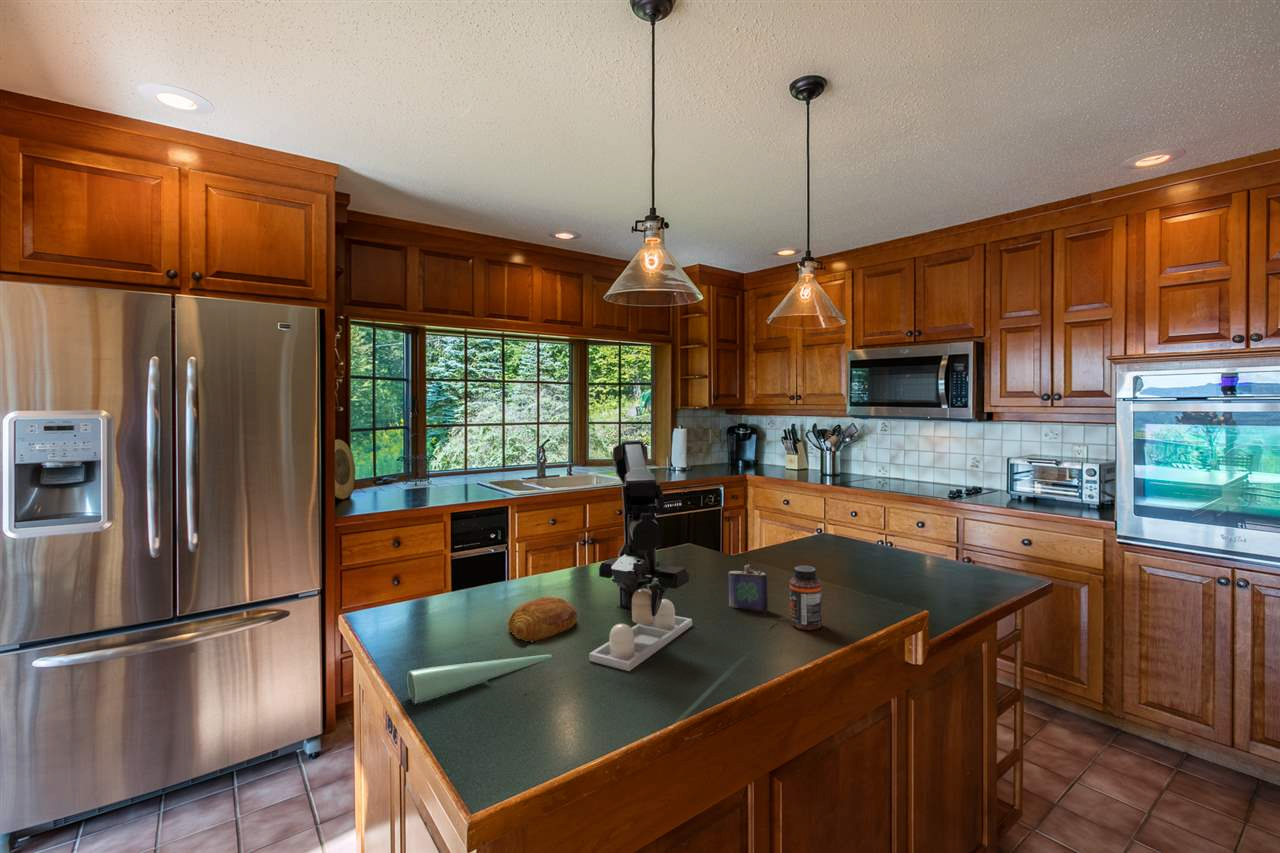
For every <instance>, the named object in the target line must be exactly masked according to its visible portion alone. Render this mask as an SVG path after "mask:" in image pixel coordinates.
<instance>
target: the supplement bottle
mask: <svg viewBox="0 0 1280 853" xmlns="http://www.w3.org/2000/svg"><path fill="white" fill-rule="evenodd" d="M816 576H817V570H816V568H815V567H813V566H810V565H798V566H794V576H793V577H792V578H791V579H790V580H789V611H790V612H789V616H790V620H789V621H790V625H791V626H793V627H794V628H796V629H798V630H802V631H815V630H818V629H820V628H821V627H822V624H823V623H822V622H823V620H822V619H823V618H822V616H823V614H822V613H823V610H822V608H823V607H822V603H823V602H822V582H821V580H820V579H819V578H817V577H816Z"/></svg>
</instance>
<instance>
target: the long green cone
mask: <svg viewBox="0 0 1280 853" xmlns="http://www.w3.org/2000/svg"><path fill="white" fill-rule="evenodd" d="M551 658H553V655H552V654H542V655H541V654H540V655H531V656H523V657H522V656H520V657H513V658H503V659H494V660H486V661H477V662H467V663H466V662H465V663H457V664H448V665H440V666H430V667H424V668H418V669H414V670H412V669H411V670H409V671H408V672H407V675H406V683H407V684H406V685H407V690H408V697H409V696H410V697H413V696H414V695H415V702H414V703H418V702H421V701H425V700H429V699H432V698H435V697H439V696H442V695H445V694H448V693H452V692H455V691H458V690H461V689H464V688H467V687H470V686H473V685H476V684H478V683H481V682H485V681H489V680H491V679H494V678H497V677H500V676H503V675H506V674H508V673H512V672H515V671H518V670H520V669H524V668H527V667H529V666H532V665H535V664H538V663H541V662H543V661H546V660H549V659H551ZM476 686H477V685H476ZM473 687H474V686H473ZM470 688H471V687H470ZM467 689H468V688H467ZM464 690H465V689H464ZM461 691H462V690H461ZM458 692H459V691H458ZM455 693H456V692H455ZM452 694H453V693H452ZM410 697H409V698H410Z"/></svg>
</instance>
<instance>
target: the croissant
mask: <svg viewBox="0 0 1280 853" xmlns="http://www.w3.org/2000/svg"><path fill="white" fill-rule="evenodd" d="M577 621H578V613H577V611H576V609H575V608H574V606H572V605H571V604H570V603H569V602H568V601H566V600H565V599H563V598H560V597H549V596H547V597H545V596H544V597H543V596H542V597H540V598H535V599H534V600H531V601H528V602H525V603H522V604H521V605H519V606H518V607H516V608H515V609H514V610H513V612H512V614H511V615H510V617H509V619H508V623H507V624H508V632H509V631H511V632H512V633H514V635H513V636H515V637H516V639H519V640H520V639H522V640H521V641H523V640H526V641H536V642H539V641H541V640H544V639H547V638H549V637H553V636H555V635H558V634H559V633H562V632H566V631H568V630H570V629H571V628H573V627H574V626H575V624H576V623H577ZM538 640H539V641H538ZM526 641H525V642H526Z"/></svg>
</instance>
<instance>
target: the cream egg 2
mask: <svg viewBox="0 0 1280 853" xmlns="http://www.w3.org/2000/svg"><path fill="white" fill-rule="evenodd" d="M674 605H675V604H673V602H672V601H671V600H669V599H666V598H663V600H662V602H661V605H660V607H659V610H658V612H657V615H656V616H655V621H654V622H653V627H654V628H659V629H664V630H669V631H671V630H673V629H674V628H675V616H676V610H675V606H674Z"/></svg>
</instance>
